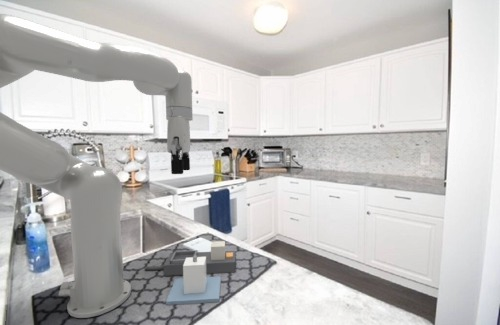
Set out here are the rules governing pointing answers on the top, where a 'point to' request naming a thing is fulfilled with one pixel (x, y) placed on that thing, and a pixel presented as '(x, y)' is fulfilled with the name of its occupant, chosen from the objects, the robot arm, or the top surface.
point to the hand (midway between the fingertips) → (181, 171)
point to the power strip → (215, 259)
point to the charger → (194, 275)
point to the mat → (209, 296)
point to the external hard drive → (199, 245)
